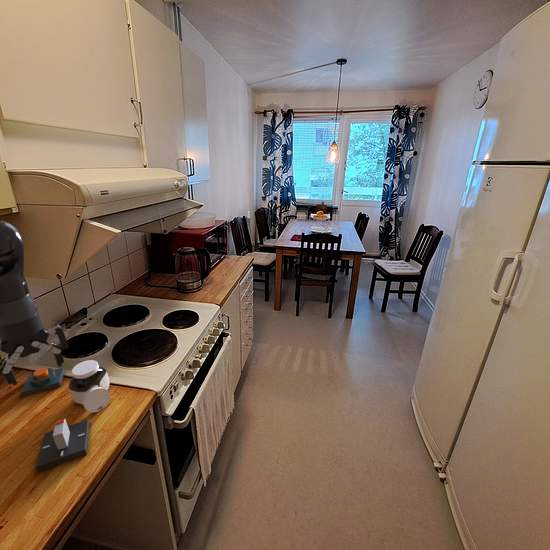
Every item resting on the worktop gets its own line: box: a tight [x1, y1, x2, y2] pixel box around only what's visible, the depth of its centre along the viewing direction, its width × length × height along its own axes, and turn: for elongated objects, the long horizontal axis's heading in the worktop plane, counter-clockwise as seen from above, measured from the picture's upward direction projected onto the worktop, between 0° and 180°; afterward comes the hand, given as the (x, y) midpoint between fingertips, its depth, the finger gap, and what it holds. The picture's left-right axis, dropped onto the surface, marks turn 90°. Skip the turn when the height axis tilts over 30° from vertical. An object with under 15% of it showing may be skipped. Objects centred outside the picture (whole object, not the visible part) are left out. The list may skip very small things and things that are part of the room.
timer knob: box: [53, 418, 70, 450], centre depth 73 cm, size 5×2×5 cm, turn 27°
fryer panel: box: [35, 419, 91, 473], centre depth 75 cm, size 10×10×3 cm
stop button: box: [33, 367, 49, 380], centre depth 94 cm, size 4×4×2 cm
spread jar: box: [68, 359, 111, 413], centre depth 88 cm, size 12×11×12 cm
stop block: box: [20, 367, 65, 397], centre depth 95 cm, size 10×8×4 cm
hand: (38, 373), depth 68 cm, fingers open, 8 cm apart
